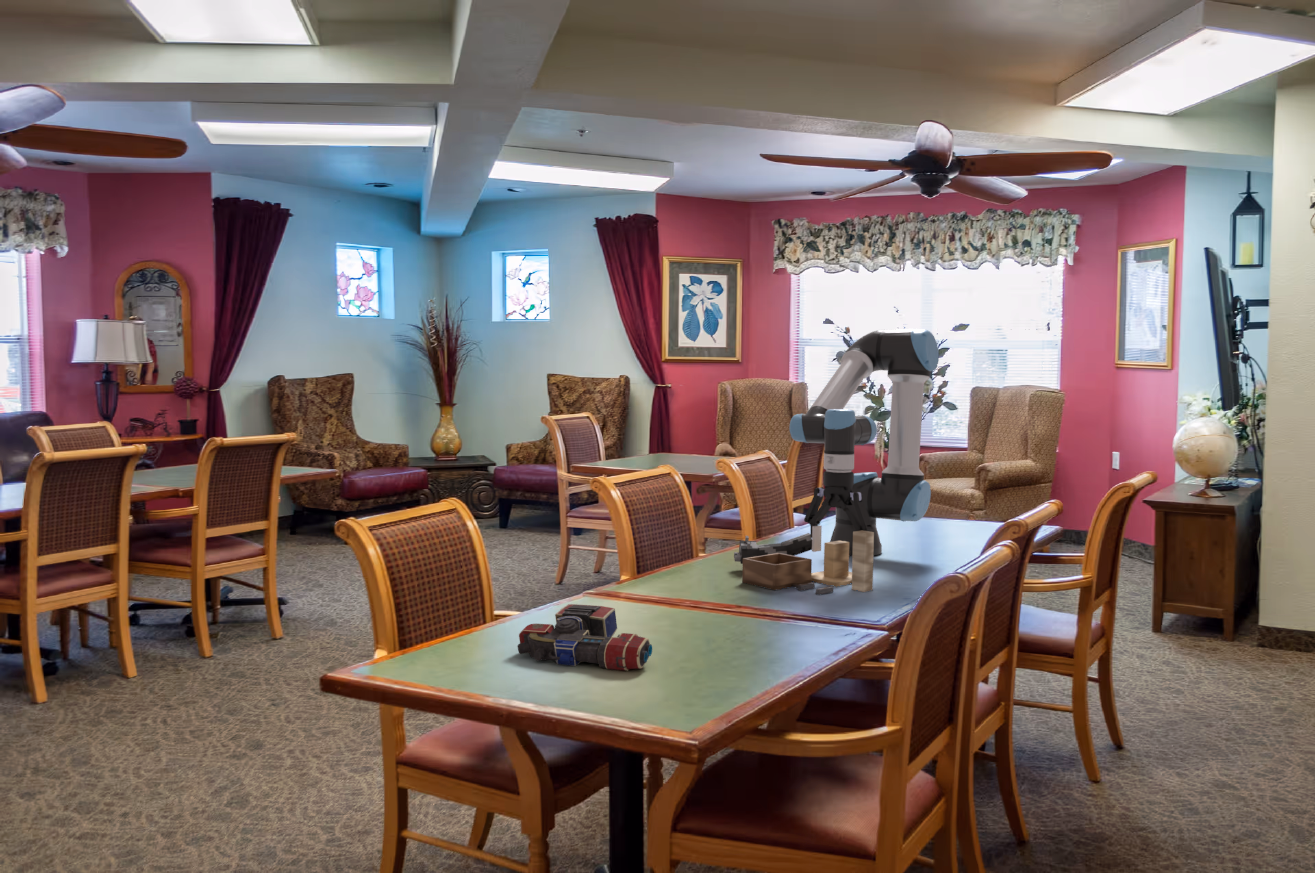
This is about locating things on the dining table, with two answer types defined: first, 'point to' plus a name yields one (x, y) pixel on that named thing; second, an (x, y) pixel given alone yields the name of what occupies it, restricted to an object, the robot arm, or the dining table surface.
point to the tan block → (862, 561)
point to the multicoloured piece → (585, 640)
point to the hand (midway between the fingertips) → (836, 554)
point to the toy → (773, 547)
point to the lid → (834, 565)
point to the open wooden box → (776, 571)
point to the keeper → (812, 585)
